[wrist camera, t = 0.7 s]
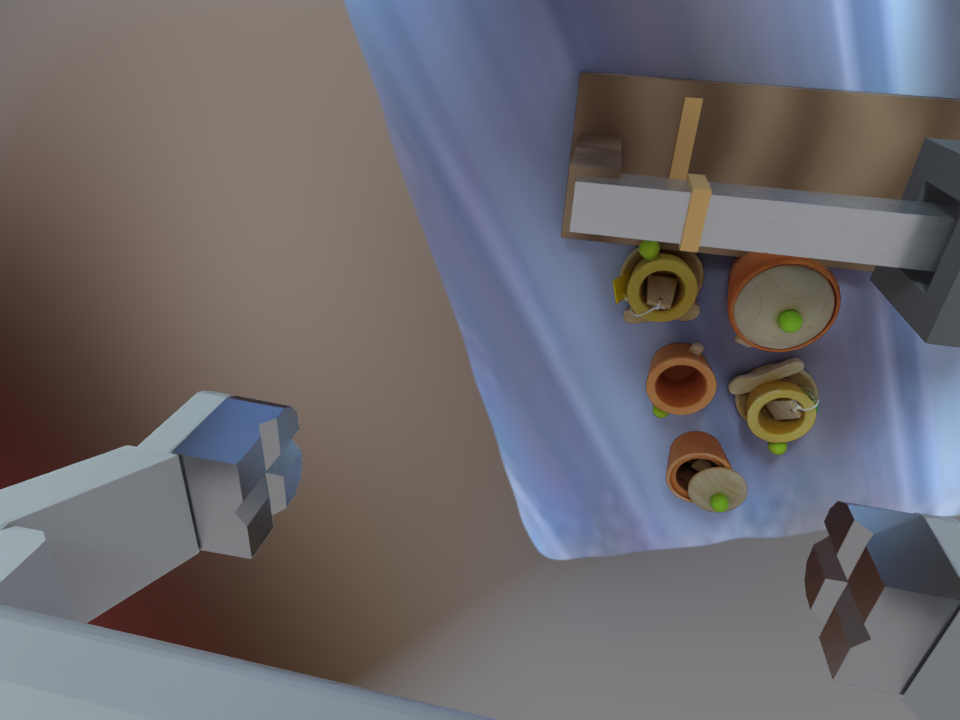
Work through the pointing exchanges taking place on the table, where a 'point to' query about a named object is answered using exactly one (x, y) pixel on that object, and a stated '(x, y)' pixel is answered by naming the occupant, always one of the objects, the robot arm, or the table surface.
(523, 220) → the table surface
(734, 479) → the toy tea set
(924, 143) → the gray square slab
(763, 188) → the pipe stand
